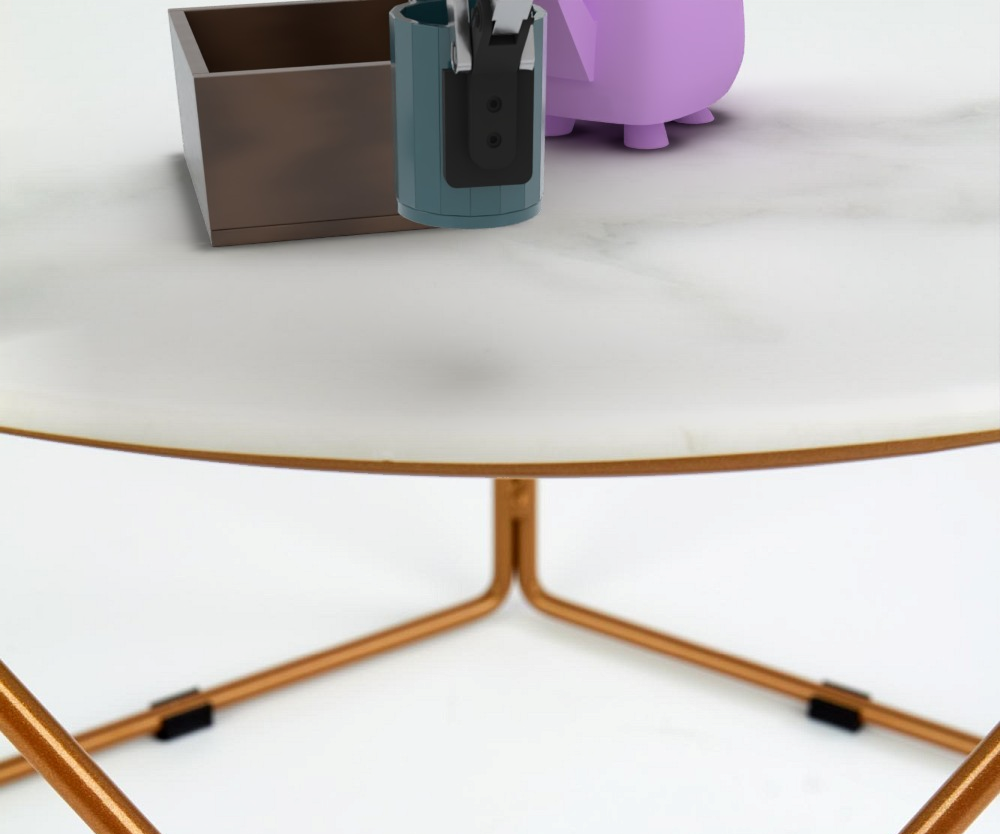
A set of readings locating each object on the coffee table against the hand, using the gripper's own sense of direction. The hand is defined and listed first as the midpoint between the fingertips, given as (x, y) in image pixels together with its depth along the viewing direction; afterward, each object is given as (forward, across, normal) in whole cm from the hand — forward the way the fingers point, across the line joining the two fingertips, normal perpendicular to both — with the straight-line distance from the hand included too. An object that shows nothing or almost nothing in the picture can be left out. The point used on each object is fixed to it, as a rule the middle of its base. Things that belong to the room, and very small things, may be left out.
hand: (468, 155), depth 64 cm
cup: (+2, 0, 0) cm, 2 cm away
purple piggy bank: (+9, -35, +17) cm, 40 cm away
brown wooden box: (+9, -27, -1) cm, 28 cm away
